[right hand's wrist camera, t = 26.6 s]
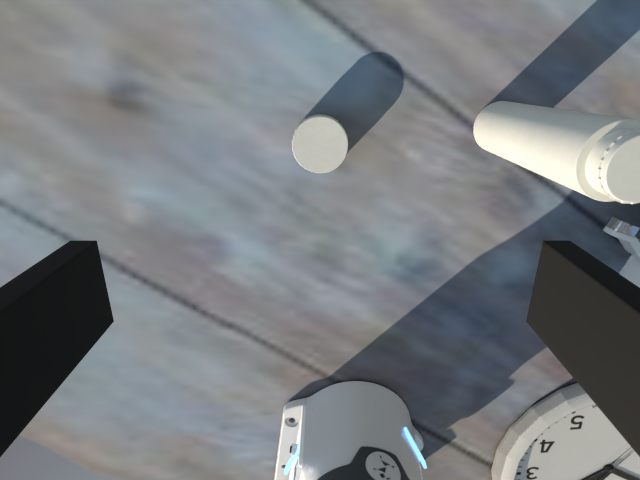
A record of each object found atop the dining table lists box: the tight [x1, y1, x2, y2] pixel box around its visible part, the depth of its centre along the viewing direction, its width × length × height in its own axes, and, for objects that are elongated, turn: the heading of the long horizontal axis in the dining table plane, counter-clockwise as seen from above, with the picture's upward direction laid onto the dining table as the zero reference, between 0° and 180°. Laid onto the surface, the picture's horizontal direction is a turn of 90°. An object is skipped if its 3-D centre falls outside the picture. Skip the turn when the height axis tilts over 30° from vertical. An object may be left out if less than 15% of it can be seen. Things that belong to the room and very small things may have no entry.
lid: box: [292, 114, 349, 173], centre depth 40 cm, size 5×5×2 cm
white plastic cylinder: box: [474, 101, 640, 204], centre depth 31 cm, size 5×5×19 cm
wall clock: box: [491, 383, 640, 480], centre depth 55 cm, size 30×2×30 cm
